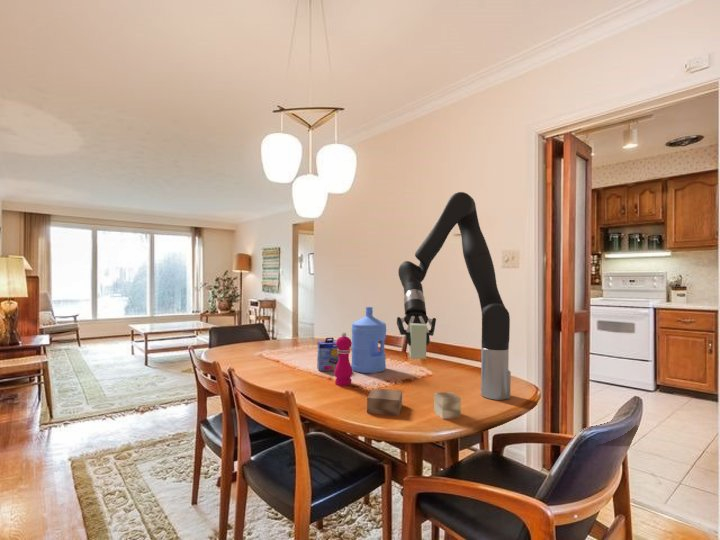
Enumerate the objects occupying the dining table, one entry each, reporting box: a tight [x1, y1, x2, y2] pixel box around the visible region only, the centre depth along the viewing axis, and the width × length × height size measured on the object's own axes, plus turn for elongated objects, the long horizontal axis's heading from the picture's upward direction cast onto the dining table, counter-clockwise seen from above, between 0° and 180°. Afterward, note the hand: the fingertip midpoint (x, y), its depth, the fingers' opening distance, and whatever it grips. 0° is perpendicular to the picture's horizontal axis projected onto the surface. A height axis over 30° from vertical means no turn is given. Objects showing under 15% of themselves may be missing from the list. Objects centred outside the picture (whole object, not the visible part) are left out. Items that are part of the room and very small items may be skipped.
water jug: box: [350, 306, 387, 374], centre depth 173 cm, size 16×16×28 cm
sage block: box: [408, 323, 428, 360], centre depth 128 cm, size 5×5×11 cm
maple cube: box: [433, 391, 462, 420], centre depth 119 cm, size 6×6×6 cm
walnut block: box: [366, 387, 403, 417], centre depth 123 cm, size 10×10×5 cm
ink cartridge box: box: [316, 337, 339, 372], centre depth 172 cm, size 10×6×14 cm, turn 107°
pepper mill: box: [333, 332, 354, 387], centre depth 150 cm, size 7×7×20 cm
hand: (418, 344), depth 127 cm, fingers closed on sage block, 5 cm apart
